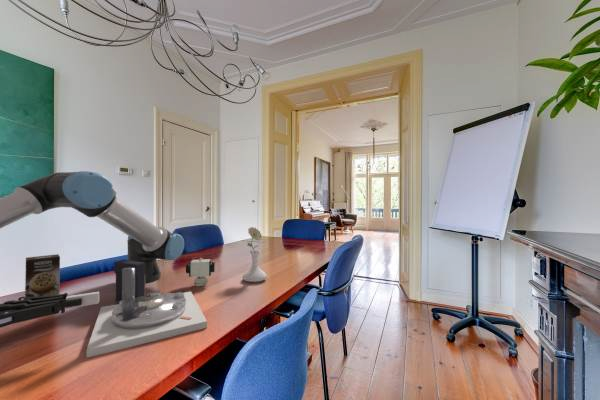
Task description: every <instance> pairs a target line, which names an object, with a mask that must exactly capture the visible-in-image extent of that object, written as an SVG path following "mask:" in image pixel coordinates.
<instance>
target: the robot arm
mask: <svg viewBox="0 0 600 400" xmlns="http://www.w3.org/2000/svg"><path fill="white" fill-rule="evenodd" d="M117 197H118V195H117V192H116V191H115V189H114V188H113V184H112V182H111V180H110V179H108V178H107V177H106V176H105V175H103V174H101V173H97V172H93V171H85V170H83V171H71V172H70V171H69V172H67V171H66V172H65V171H64V172H63V171H62V172H54V173H51V174H48V175H44V176H42V177H41V178H37V179H35V180H32V181H30V182H27V183H26V184H23V185H21V186H17V187H15V188H14V189H13V192H12V193H10V194H7V195H4V196H3V197H0V229H2V228H4V227H6V226H9V225H10V224H13V223H15V222H17V221H19V220H21V219H24V218H25V217H28V216H30V215H40V214H41V213H44V212H46V211H49V210H52V209H57V208H71V209H74V210H76V212H77V211H78V212H79V213H81V214H83V215H84V216H86V217H88V218H95V217H97V218H99V219H100V220H102V221H103V222H105V223H107V224H109V225H110V226H112V227H113V228H115V229H117V230H119V231H120V232H122V233H123V234H125V235H127V236H128V237H127V240H126V242H127V260H129V261H138V262H144V263H145V284H147V283H151V282H154V281H157V280H159V279H161V272H162V271H161V269H160V266H159V265H158V264H159V263H158V261H157V260H165V261H174V260H176V259H178V258H179V257H180V256H181V255H182V253H183V251H184V249H185V240H184V237H183V236H182V235H181V234H179V233H172V232H170V231H169V230H167V229H166V228H165V227H162V226H159V227H158V226H156V225H154V224H153V223H152V222H151V221H149V220H147V219H146V218H145V217H144V216H142V215H141V214H140V213H138V212H136V211H135V209H133V208H131V207H130V206H128V205H127V204H125V202H123V201H121V200H120V199H119V198H117ZM99 302H100V291H94V292H93V291H92V292H87V293H79V294H73V295H68V292H64V293H61V294H60V293H59V295H47V296H36V297H25V296H21V297H18V299H17V300H15V299H12V300H7V301H4V302H3V303H0V328H3V327H7V326H10V325H13V324H17V323H18V324H19V323H22V322H26V321H31V320H35V319H40V318H44V317H47V316H49V317H50V316H53V315H57V314H59V313H60V314H65V312H66V309H73V308H79V307H85V306H90V305H97V304H99Z"/></svg>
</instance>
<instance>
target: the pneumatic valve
mask: <svg viewBox="0 0 600 400" xmlns="http://www.w3.org/2000/svg"><path fill="white" fill-rule="evenodd" d="M215 271H216V261H213V259H212V258H210V259H209V258H208V259H207V258H206V259H204V258H202V257H199V259H191V260H190V261H189V262H187V263H186V264H185V273H186V274H187V275H188V277H189V278H190V277H191V278H192V277H193V278H194V277H196V278H194V280H193V284H194V285H195V287H204V286H206V285H207V284H208V278H207V277H210V276H212V273H215Z"/></svg>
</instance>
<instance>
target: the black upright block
mask: <svg viewBox="0 0 600 400" xmlns="http://www.w3.org/2000/svg"><path fill="white" fill-rule="evenodd" d="M113 265H114V267H113V268H114V269H113V271H114V274H115V302H117V303H119V301H121V300H122V269H124V268H128V267H135V298H137V297H141V296H145V295H146V283H145V263H144V262H138V261H129V260H128V259H121V260H118V261H114V264H113Z"/></svg>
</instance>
